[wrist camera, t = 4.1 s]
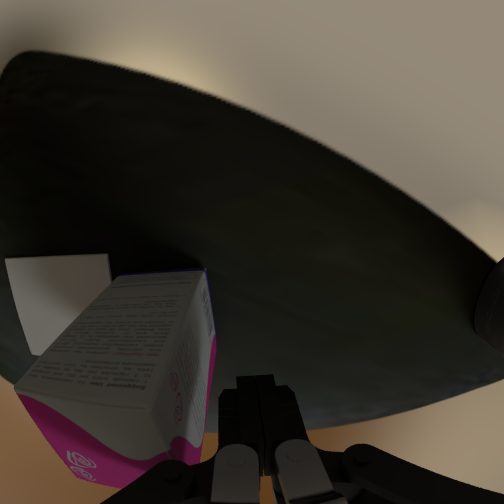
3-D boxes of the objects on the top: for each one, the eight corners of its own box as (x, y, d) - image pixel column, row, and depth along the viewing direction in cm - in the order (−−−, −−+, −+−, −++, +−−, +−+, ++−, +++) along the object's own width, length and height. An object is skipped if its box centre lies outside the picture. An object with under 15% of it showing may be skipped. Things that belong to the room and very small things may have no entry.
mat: (108, 253, 17) (106, 254, 17) (129, 361, 19) (128, 363, 19) (7, 258, 16) (4, 259, 16) (33, 352, 18) (31, 354, 18)
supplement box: (116, 272, 18) (6, 384, 7) (207, 265, 18) (162, 407, 7) (136, 350, 19) (74, 481, 8) (219, 348, 19) (204, 502, 8)
